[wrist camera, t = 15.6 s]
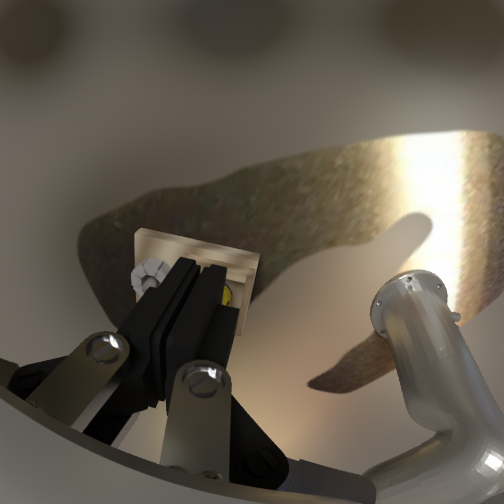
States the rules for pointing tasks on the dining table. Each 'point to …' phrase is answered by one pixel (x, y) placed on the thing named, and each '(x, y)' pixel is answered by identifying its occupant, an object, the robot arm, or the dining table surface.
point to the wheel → (148, 273)
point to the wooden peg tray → (201, 263)
